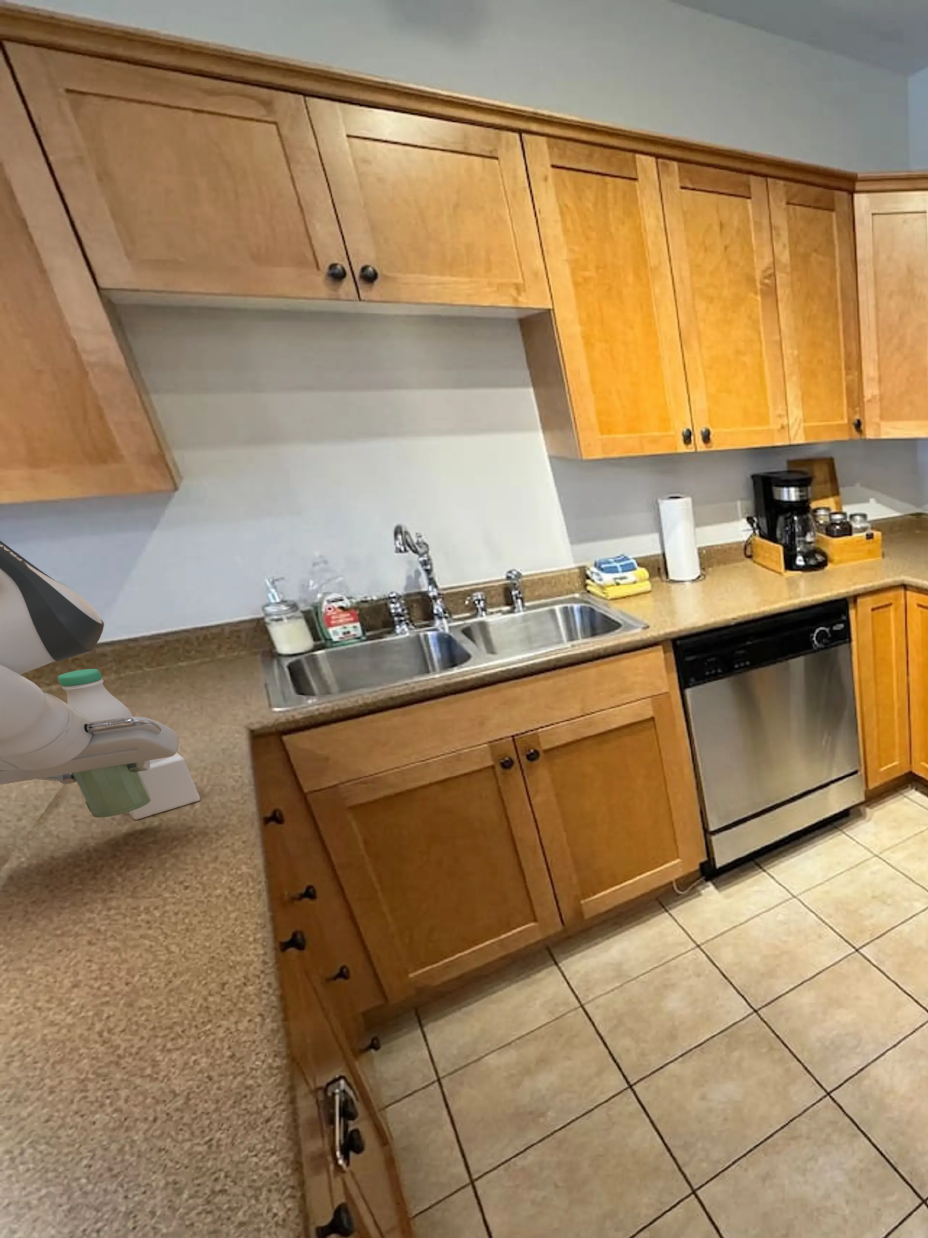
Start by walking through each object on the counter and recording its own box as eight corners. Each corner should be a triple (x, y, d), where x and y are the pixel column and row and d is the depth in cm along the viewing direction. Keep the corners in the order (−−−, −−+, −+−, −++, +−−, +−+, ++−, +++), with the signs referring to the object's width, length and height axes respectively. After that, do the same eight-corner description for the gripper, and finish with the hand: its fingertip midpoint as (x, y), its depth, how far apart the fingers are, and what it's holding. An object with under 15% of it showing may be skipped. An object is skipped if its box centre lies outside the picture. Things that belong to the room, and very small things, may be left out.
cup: (88, 822, 102) (56, 757, 99) (97, 806, 107) (67, 744, 103) (147, 807, 106) (119, 745, 102) (154, 793, 110) (126, 732, 107)
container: (189, 788, 122) (159, 716, 118) (201, 800, 118) (170, 726, 113) (124, 807, 116) (89, 732, 112) (134, 821, 112) (99, 743, 108)
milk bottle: (101, 798, 120) (47, 683, 113) (89, 786, 124) (37, 675, 117) (165, 779, 126) (117, 669, 119) (152, 769, 130) (105, 662, 123)
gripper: (146, 697, 99) (202, 737, 110) (-73, 727, 90) (12, 768, 102) (145, 738, 96) (202, 775, 108) (-81, 773, 88) (7, 809, 100)
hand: (108, 772), depth 105 cm, fingers closed on cup, 6 cm apart
